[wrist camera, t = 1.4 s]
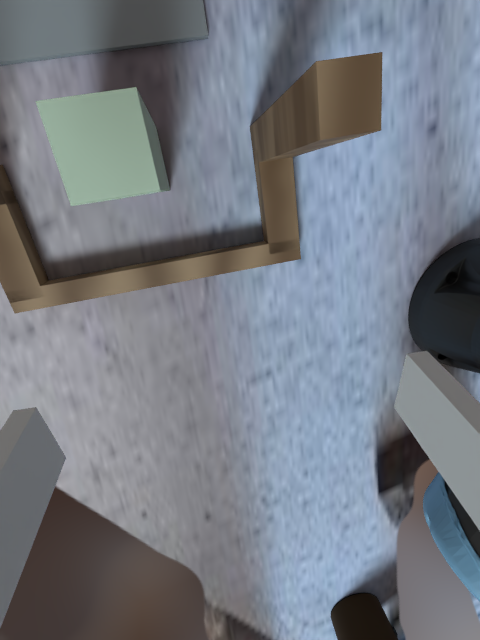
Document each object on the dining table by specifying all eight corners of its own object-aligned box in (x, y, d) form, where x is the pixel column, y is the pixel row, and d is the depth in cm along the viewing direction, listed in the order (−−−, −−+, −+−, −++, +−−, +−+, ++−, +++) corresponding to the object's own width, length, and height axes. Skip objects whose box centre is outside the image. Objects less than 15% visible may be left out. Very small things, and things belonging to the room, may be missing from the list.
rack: (282, 121, 29) (382, 52, 14) (294, 255, 34) (378, 306, 19) (-36, 170, 27) (-306, 148, 12) (24, 306, 31) (-118, 408, 17)
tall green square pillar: (156, 127, 28) (136, 87, 17) (170, 190, 30) (160, 191, 19) (96, 136, 27) (35, 101, 16) (114, 199, 29) (71, 206, 18)
